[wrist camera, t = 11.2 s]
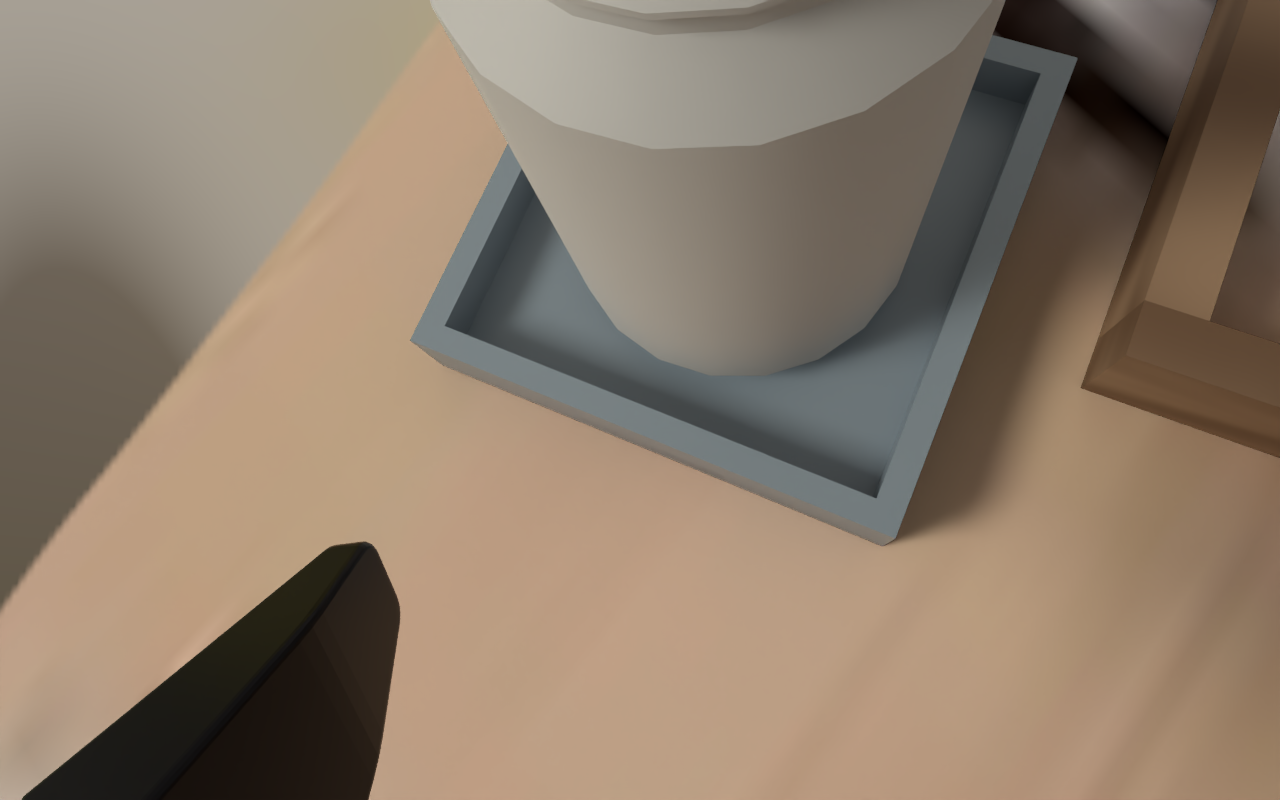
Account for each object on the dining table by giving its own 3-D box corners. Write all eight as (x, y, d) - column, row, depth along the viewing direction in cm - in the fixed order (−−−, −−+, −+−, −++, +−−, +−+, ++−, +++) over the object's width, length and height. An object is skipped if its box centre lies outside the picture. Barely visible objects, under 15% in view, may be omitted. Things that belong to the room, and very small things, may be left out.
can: (536, 175, 21) (262, -341, 10) (812, 39, 21) (861, -651, 10) (663, 444, 19) (503, 189, 8) (971, 296, 19) (1275, -190, 8)
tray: (882, 546, 19) (895, 538, 17) (442, 365, 21) (410, 340, 19) (1049, 109, 21) (1078, 58, 19) (625, -11, 23) (612, -67, 21)
